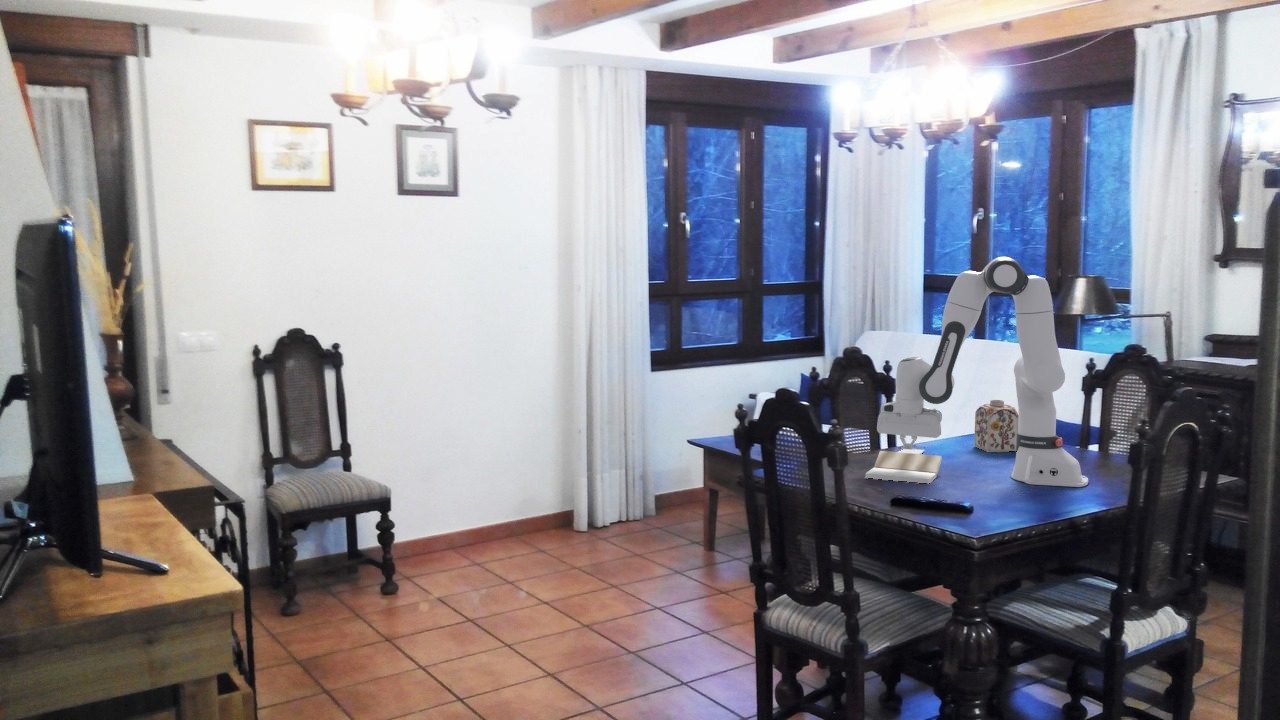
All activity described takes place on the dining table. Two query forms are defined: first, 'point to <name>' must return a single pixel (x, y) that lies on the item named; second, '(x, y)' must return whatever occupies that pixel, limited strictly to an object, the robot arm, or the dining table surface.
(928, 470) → the birch plank
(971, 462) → the dining table surface
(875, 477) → the white board
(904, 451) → the baseboard
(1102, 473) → the dining table surface
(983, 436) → the decorative jar
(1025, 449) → the robot arm
